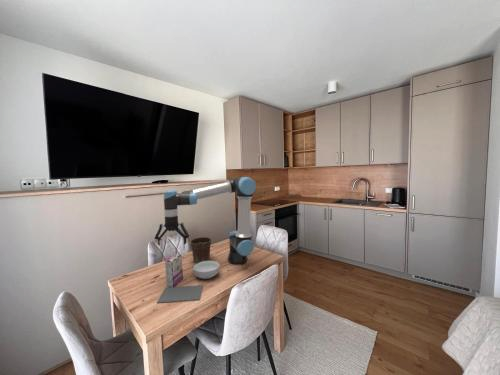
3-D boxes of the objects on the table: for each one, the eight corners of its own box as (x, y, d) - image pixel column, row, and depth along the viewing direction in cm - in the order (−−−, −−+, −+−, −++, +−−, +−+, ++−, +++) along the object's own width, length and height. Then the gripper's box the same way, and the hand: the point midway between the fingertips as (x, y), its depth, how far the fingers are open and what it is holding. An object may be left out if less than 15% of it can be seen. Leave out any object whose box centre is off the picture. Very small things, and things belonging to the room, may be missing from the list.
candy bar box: (176, 277, 133) (175, 253, 132) (183, 278, 132) (182, 253, 131) (165, 287, 123) (164, 260, 121) (173, 288, 122) (172, 261, 120)
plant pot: (187, 264, 152) (186, 243, 151) (195, 256, 168) (194, 236, 167) (208, 265, 150) (207, 244, 149) (214, 256, 166) (213, 237, 165)
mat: (202, 285, 123) (202, 284, 123) (199, 300, 109) (199, 299, 109) (165, 288, 121) (165, 287, 121) (156, 303, 107) (156, 302, 107)
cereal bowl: (223, 271, 142) (223, 261, 141) (214, 283, 125) (213, 272, 125) (200, 269, 145) (200, 259, 145) (188, 281, 129) (188, 270, 128)
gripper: (193, 213, 130) (194, 246, 132) (152, 215, 128) (154, 248, 129) (190, 216, 123) (192, 250, 124) (147, 217, 120) (149, 252, 122)
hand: (172, 249), depth 127 cm, fingers open, 13 cm apart
